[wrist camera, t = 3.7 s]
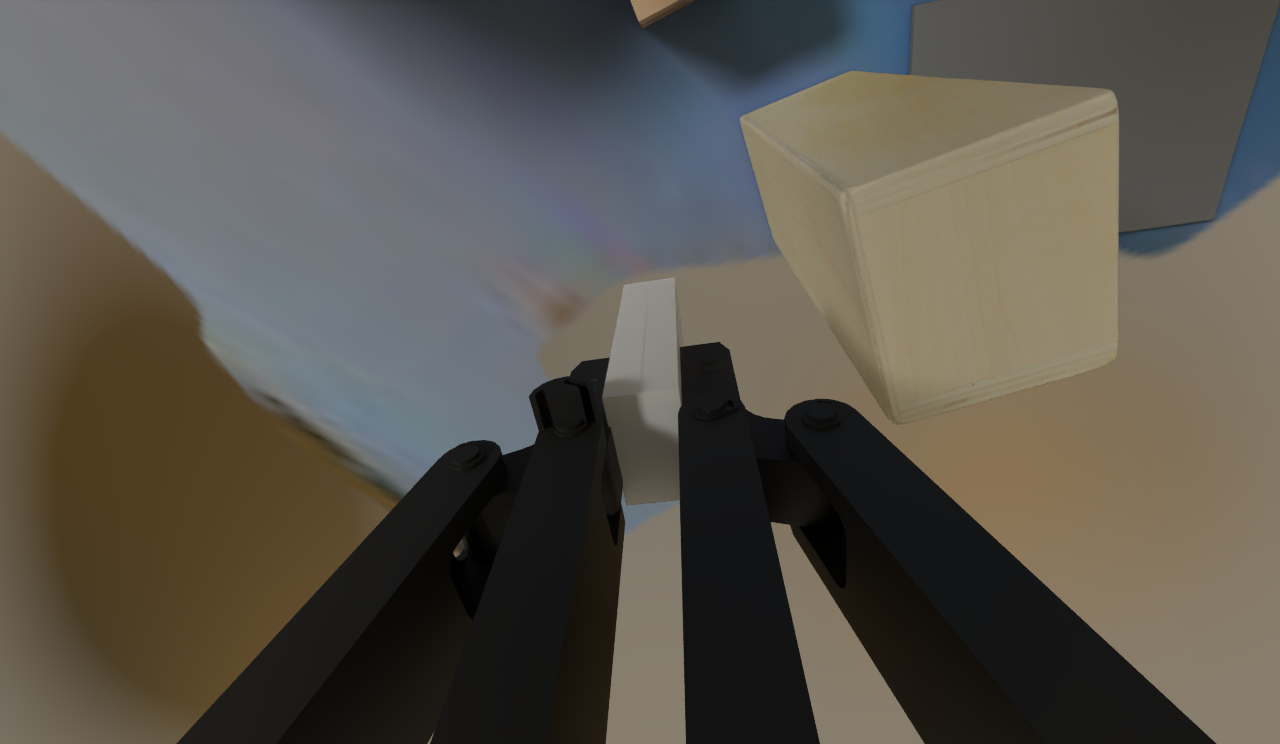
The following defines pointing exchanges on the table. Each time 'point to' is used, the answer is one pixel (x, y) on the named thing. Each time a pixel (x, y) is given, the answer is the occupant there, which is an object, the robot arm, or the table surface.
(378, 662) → the robot arm
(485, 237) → the table surface
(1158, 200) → the mat
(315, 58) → the table surface
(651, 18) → the letter cube
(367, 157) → the table surface
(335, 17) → the table surface
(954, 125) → the light wooden block
